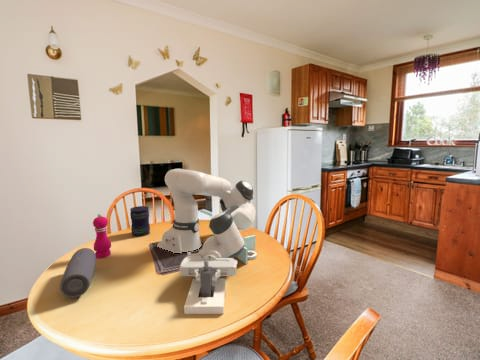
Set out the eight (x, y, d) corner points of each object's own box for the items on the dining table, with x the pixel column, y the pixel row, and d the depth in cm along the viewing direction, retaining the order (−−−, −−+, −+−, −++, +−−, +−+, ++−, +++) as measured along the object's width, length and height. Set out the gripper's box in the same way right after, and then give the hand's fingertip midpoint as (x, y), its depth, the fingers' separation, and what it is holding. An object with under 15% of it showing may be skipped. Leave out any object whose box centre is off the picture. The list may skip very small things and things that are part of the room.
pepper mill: (98, 252, 122) (95, 211, 118) (114, 251, 122) (111, 211, 119) (91, 259, 114) (87, 216, 111) (108, 258, 115) (104, 215, 112)
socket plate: (193, 284, 94) (192, 277, 94) (225, 284, 94) (225, 277, 94) (184, 314, 78) (184, 304, 78) (223, 313, 78) (223, 304, 78)
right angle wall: (246, 265, 110) (246, 249, 109) (232, 254, 120) (232, 239, 119) (268, 259, 116) (268, 243, 115) (254, 249, 126) (254, 235, 125)
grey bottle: (203, 293, 88) (202, 258, 86) (212, 293, 88) (211, 258, 86) (201, 301, 84) (200, 264, 82) (210, 301, 84) (210, 264, 82)
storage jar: (146, 237, 141) (144, 210, 138) (128, 236, 141) (126, 210, 138) (152, 230, 150) (151, 206, 148) (136, 230, 151) (134, 206, 148)
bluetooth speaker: (72, 271, 103) (69, 248, 102) (98, 267, 107) (96, 244, 106) (59, 304, 83) (56, 276, 81) (92, 297, 87) (89, 270, 85)
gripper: (237, 267, 99) (237, 287, 85) (184, 267, 98) (176, 287, 85) (237, 251, 98) (237, 270, 84) (184, 251, 97) (175, 270, 84)
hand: (206, 279), depth 84 cm, fingers open, 4 cm apart
